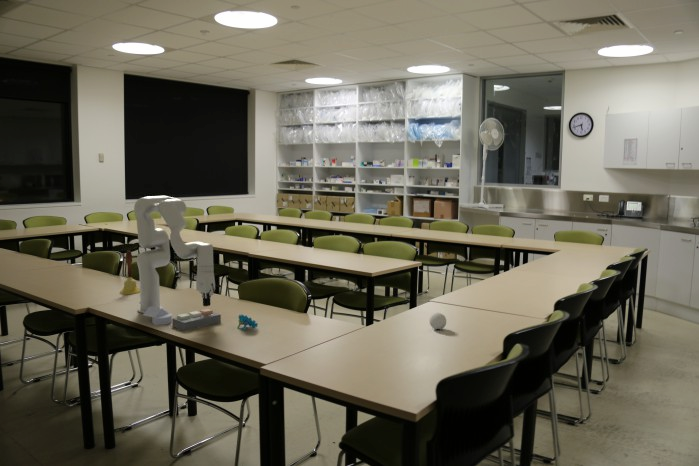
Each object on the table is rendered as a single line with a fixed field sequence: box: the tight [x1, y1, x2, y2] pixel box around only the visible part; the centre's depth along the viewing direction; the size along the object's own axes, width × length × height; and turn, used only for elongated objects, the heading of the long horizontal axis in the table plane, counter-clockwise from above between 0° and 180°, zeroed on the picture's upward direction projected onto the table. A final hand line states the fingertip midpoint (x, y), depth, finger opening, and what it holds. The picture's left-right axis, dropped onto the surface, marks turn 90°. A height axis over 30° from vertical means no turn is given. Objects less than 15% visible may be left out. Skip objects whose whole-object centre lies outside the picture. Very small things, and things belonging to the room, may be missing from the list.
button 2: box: [188, 310, 202, 318], centre depth 262 cm, size 4×4×3 cm
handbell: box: [119, 250, 140, 295], centre depth 324 cm, size 12×12×25 cm
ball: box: [429, 312, 447, 330], centre depth 258 cm, size 8×8×8 cm
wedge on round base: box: [142, 306, 173, 326], centre depth 266 cm, size 9×7×13 cm
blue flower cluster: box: [236, 314, 258, 331], centre depth 255 cm, size 11×6×10 cm
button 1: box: [176, 313, 190, 320], centre depth 258 cm, size 4×4×3 cm
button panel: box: [172, 311, 222, 332], centre depth 261 cm, size 10×20×4 cm, turn 138°
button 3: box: [199, 308, 214, 315], centre depth 267 cm, size 4×4×3 cm
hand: (206, 305), depth 266 cm, fingers closed
